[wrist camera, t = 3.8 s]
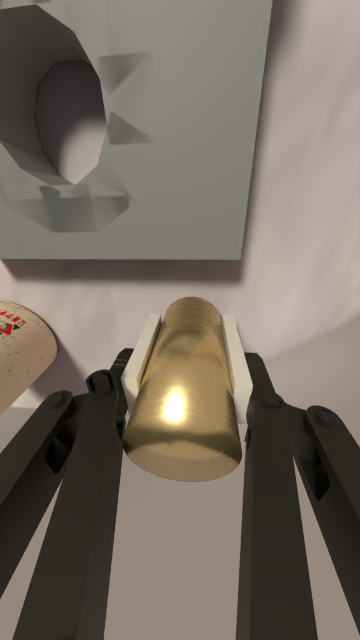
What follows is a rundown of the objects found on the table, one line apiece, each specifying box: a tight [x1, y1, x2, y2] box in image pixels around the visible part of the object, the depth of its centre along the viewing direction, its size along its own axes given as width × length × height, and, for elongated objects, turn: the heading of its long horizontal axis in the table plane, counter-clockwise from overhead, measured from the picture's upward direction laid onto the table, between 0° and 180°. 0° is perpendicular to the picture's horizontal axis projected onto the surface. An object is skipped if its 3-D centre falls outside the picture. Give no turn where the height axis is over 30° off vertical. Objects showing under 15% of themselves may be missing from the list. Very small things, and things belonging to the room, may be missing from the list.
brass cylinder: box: [122, 297, 242, 482], centre depth 12 cm, size 5×5×10 cm
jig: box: [0, 0, 273, 260], centre depth 10 cm, size 20×16×6 cm
